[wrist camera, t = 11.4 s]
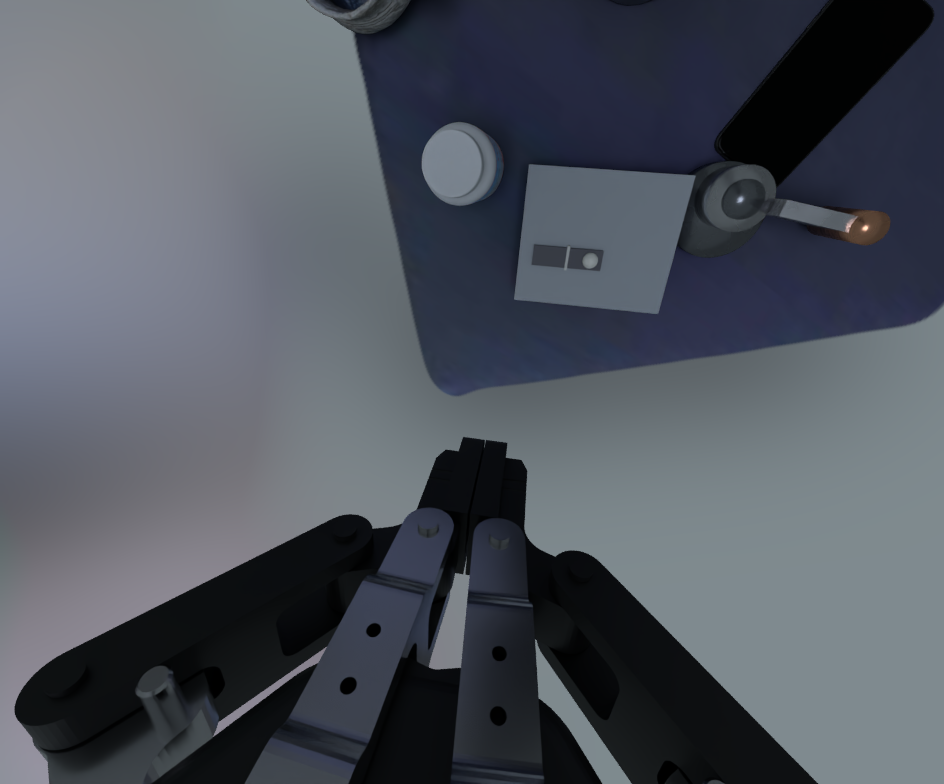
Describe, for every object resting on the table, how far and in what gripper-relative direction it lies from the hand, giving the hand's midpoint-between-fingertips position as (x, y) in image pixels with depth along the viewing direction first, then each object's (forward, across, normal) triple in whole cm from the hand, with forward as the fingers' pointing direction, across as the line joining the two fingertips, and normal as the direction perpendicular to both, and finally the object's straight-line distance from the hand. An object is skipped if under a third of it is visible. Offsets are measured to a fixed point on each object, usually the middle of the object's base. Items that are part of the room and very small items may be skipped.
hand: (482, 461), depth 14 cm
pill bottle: (+35, +6, -9) cm, 37 cm away
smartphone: (+36, -22, -17) cm, 45 cm away
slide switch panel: (+35, -6, -4) cm, 36 cm away
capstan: (+35, -20, -6) cm, 40 cm away
